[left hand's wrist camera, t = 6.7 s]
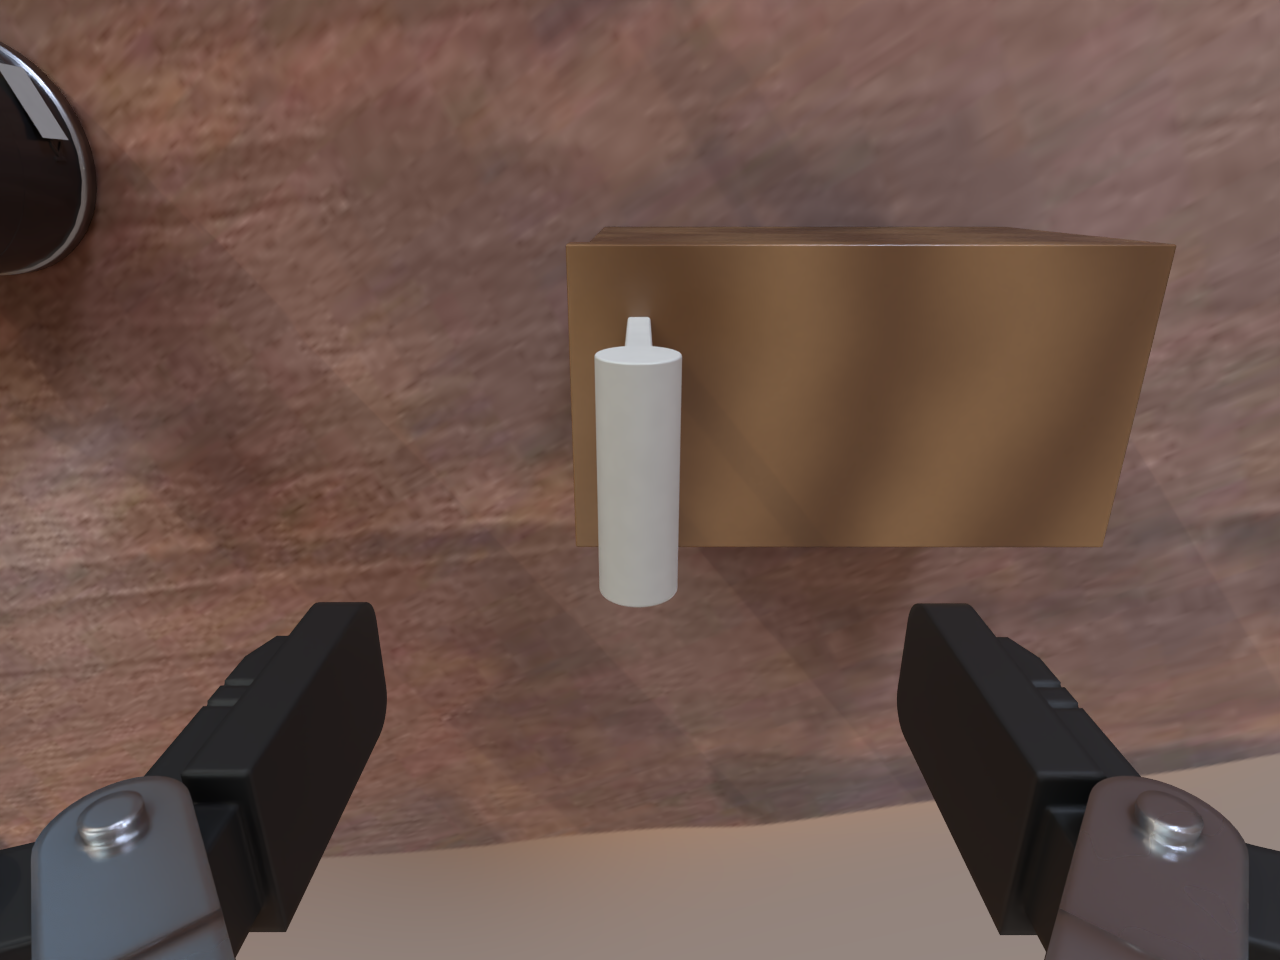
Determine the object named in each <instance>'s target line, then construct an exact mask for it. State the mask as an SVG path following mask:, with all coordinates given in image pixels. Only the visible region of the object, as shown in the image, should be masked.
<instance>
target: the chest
mask: <svg viewBox="0 0 1280 960" xmlns="http://www.w3.org/2000/svg"><path fill="white" fill-rule="evenodd" d="M590 242H1145V241H1135V240H1126V239H1116V238H1107V237H1097V236H1087V235H1078V234H1068V233H1058V232H1049V231H1039V230H1029V229H1020V228H1010V227H604V228H603V229H602V230H601V231H600V232H599V233H598V234H597V235H596V236H595V237H594V238H593V239H592V240H591V241H590Z"/></svg>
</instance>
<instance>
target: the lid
mask: <svg viewBox="0 0 1280 960" xmlns="http://www.w3.org/2000/svg"><path fill="white" fill-rule="evenodd" d="M1175 249H1176V245H1174V244H1166V243H1156V242H570V243H568V244H567V245H566V266H567V295H568V325H569V354H570V384H571V414H572V443H573V473H574V502H575V532H576V546H577V547H599V587H600V592H601V593H602V595H603V596H604V597H605V598H606V599H607V600H609V601H611V602H613V603H615V604H618V605H622V606H627V607H650V606H655V605H659V604H662V603H664V602H666V601H668V600H670V599H671V598H672V597H673V596H674V595H675V593H676V591H677V580H678V547H1102V546H1103V542H1104V538H1105V534H1106V530H1107V526H1108V522H1109V518H1110V514H1111V509H1112V505H1113V501H1114V497H1115V493H1116V489H1117V485H1118V481H1119V477H1120V473H1121V469H1122V465H1123V461H1124V457H1125V453H1126V448H1127V444H1128V440H1129V436H1130V432H1131V428H1132V424H1133V420H1134V416H1135V412H1136V408H1137V404H1138V400H1139V396H1140V392H1141V387H1142V383H1143V379H1144V375H1145V371H1146V367H1147V363H1148V359H1149V355H1150V351H1151V347H1152V343H1153V339H1154V335H1155V331H1156V326H1157V322H1158V318H1159V314H1160V310H1161V306H1162V302H1163V298H1164V294H1165V290H1166V286H1167V282H1168V278H1169V274H1170V270H1171V265H1172V261H1173V257H1174V253H1175Z"/></svg>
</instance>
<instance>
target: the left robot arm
mask: <svg viewBox="0 0 1280 960" xmlns="http://www.w3.org/2000/svg"><path fill="white" fill-rule="evenodd" d="M96 189H97V186H96V172H95V165H94V160H93V156H92V152H91V149H90V146H89V142H88V140H87V137H86V135H85V132H84V130H83V127H82V126H81V124H80V122H79V120H78V118H77V116H76V114H75V112H74V111H73V109H72V107H71V106H70V104H69V103H68V101H67V100H66V99H65V97H64V96H63V94H62V93H61V92H60V91H59V89H58V88H57V87H56V86H55V85H54V83H53V82H52V81H51V80H50V79H49V78H48V77H47V76H46V75H45V74H44V73H43V72H42V71H41V70H40V69H39V68H38V67H37V66H35V65H34V64H33V63H32V62H31V61H29V60H28V59H27V58H25V57H24V56H23V55H22V54H20V53H18V52H17V51H15V50H14V49H12V48H11V47H9V46H7V45H5V44H3V43H2V42H0V275H12V274H20V273H28V272H33V271H38V270H41V269H44V268H47V267H49V266H51V265H53V264H55V263H57V262H59V261H60V260H62V259H63V258H65V257H66V256H67V255H68V254H69V253H71V252H72V251H73V250H74V248H75V247H76V246H77V245H78V244H79V243H80V241H81V240H82V238H83V237H84V235H85V233H86V231H87V229H88V227H89V225H90V222H91V220H92V216H93V212H94V208H95V202H96ZM1060 683H1061V682H1060V681H1059V680H1058V679H1057V678H1056V677H1055V675H1054V674H1053V673H1052V672H1051V671H1050V670H1049V668H1048V667H1047V666H1046V665H1045V664H1044V663H1043V661H1042V660H1041V659H1040V658H1039V657H1037V656H1036V655H1034V654H1033V653H1031V652H1030V651H1028V650H1026V649H1025V648H1023V647H1022V646H1020V645H1019V644H1017V643H1016V642H1014V641H1013V640H1011V639H1009V638H1008V637H996V636H995V635H994V634H993V633H992V631H991V630H990V629H989V628H988V626H987V625H986V624H985V623H984V621H983V620H982V619H981V617H980V616H979V615H978V614H977V612H976V611H975V610H974V609H973V608H972V607H971V606H970V605H969V604H915V605H914V606H913V607H912V608H911V611H910V613H909V617H908V623H907V630H906V636H905V643H904V650H903V657H902V663H901V670H900V677H899V684H898V691H897V709H898V717H899V722H900V726H901V729H902V732H903V735H904V737H905V739H906V741H907V743H908V745H909V748H910V750H911V752H912V754H913V756H914V758H915V760H916V762H917V764H918V766H919V768H920V770H921V772H922V774H923V777H924V779H925V781H926V783H927V785H928V787H929V789H930V791H931V793H932V795H933V797H934V799H935V801H936V803H937V806H938V808H939V810H940V812H941V814H942V816H943V818H944V820H945V822H946V824H947V826H948V828H949V830H950V832H951V835H952V837H953V839H954V841H955V843H956V845H957V847H958V849H959V851H960V853H961V855H962V857H963V859H964V861H965V863H966V866H967V868H968V870H969V872H970V874H971V876H972V878H973V880H974V882H975V884H976V886H977V888H978V890H979V892H980V895H981V897H982V899H983V901H984V903H985V905H986V907H987V909H988V911H989V913H990V915H991V917H992V919H993V922H994V924H995V926H996V928H997V930H998V932H999V934H1000V935H1038V937H1039V939H1040V941H1041V943H1042V945H1043V947H1044V948H1045V951H1046V955H1045V959H1044V960H1280V851H1276V850H1272V849H1267V848H1263V847H1259V846H1254V845H1251V844H1247V843H1245V842H1244V839H1243V838H1242V836H1241V835H1240V833H1239V832H1238V831H1237V829H1236V828H1235V827H1234V826H1233V825H1232V824H1231V823H1230V822H1229V821H1228V820H1227V819H1226V818H1225V817H1224V816H1223V815H1222V814H1221V813H1219V812H1218V811H1217V810H1215V809H1214V808H1213V807H1211V806H1210V805H1209V804H1207V803H1205V802H1204V801H1202V800H1201V799H1199V798H1197V797H1196V796H1194V795H1192V794H1190V793H1188V792H1186V791H1184V790H1182V789H1179V788H1177V787H1174V786H1172V785H1169V784H1166V783H1163V782H1160V781H1157V780H1153V779H1148V778H1144V777H1141V776H1140V775H1139V774H1138V773H1137V772H1136V770H1135V769H1134V768H1133V767H1132V766H1131V765H1130V763H1129V762H1128V761H1127V760H1126V759H1125V758H1124V756H1123V755H1122V754H1121V753H1120V752H1119V750H1118V749H1117V748H1116V747H1115V746H1114V745H1113V743H1112V742H1111V741H1110V740H1109V739H1108V738H1107V736H1106V735H1105V734H1104V733H1103V732H1102V731H1101V729H1100V728H1099V727H1098V726H1097V725H1096V724H1095V722H1094V721H1093V720H1092V719H1091V718H1090V716H1089V715H1088V714H1087V713H1086V712H1085V711H1084V709H1083V708H1078V702H1077V701H1076V700H1075V699H1074V698H1073V697H1072V695H1071V694H1070V693H1069V692H1068V691H1067V690H1066V688H1065V687H1061V685H1060ZM386 705H387V691H386V683H385V676H384V669H383V662H382V656H381V649H380V642H379V635H378V628H377V621H376V616H375V612H374V609H373V607H372V605H371V604H370V603H368V602H318V603H315V604H314V605H313V606H312V607H311V608H310V609H309V611H308V612H307V613H306V614H305V616H304V617H303V618H302V619H301V621H300V622H299V623H298V625H297V626H296V627H295V628H294V630H293V631H292V632H291V633H290V635H289V636H276V637H274V638H273V639H271V640H270V641H268V642H267V643H265V644H264V645H262V646H261V647H259V648H258V649H256V650H254V651H253V652H251V653H250V654H248V655H247V656H245V657H244V659H243V660H242V661H241V662H240V663H239V664H238V666H237V667H236V668H235V669H234V670H233V672H232V673H231V674H230V675H229V676H228V677H227V679H226V680H225V684H224V686H220V687H219V688H218V689H217V690H216V692H215V693H214V694H213V695H212V696H211V698H210V699H209V700H208V704H207V706H203V707H202V708H201V709H200V711H199V712H198V713H197V714H196V715H195V717H194V718H193V719H192V720H191V721H190V722H189V724H188V725H187V726H186V727H185V728H184V730H183V731H182V732H181V733H180V734H179V735H178V737H177V738H176V739H175V740H174V741H173V743H172V744H171V745H170V746H169V747H168V748H167V750H166V751H165V752H164V753H163V754H162V756H161V757H160V758H159V759H158V760H157V762H156V763H155V764H154V765H153V766H152V767H151V769H150V770H149V771H148V772H147V773H146V775H145V776H144V777H136V778H131V779H127V780H123V781H120V782H117V783H114V784H111V785H108V786H106V787H103V788H101V789H98V790H96V791H94V792H92V793H90V794H88V795H86V796H84V797H83V798H81V799H79V800H78V801H76V802H75V803H73V804H71V805H70V806H69V807H67V808H66V809H65V810H63V811H62V812H61V813H59V814H58V815H57V816H56V817H55V818H54V819H53V820H52V821H50V823H49V824H48V825H47V826H46V827H45V828H44V829H43V831H42V832H41V833H40V835H39V836H38V838H37V839H36V842H33V843H29V844H25V845H20V846H16V847H12V848H7V849H3V850H0V960H236V959H235V958H236V956H237V954H238V952H239V950H240V948H241V946H242V944H243V942H244V940H245V939H246V937H247V935H248V933H249V932H286V931H287V928H288V926H289V924H290V922H291V920H292V918H293V916H294V914H295V912H296V910H297V907H298V905H299V903H300V901H301V899H302V897H303V895H304V893H305V891H306V889H307V886H308V884H309V882H310V880H311V878H312V876H313V874H314V872H315V870H316V868H317V866H318V863H319V861H320V859H321V857H322V855H323V853H324V851H325V849H326V847H327V845H328V842H329V840H330V838H331V836H332V834H333V832H334V830H335V828H336V826H337V824H338V822H339V819H340V817H341V815H342V813H343V811H344V809H345V807H346V805H347V803H348V801H349V798H350V796H351V794H352V792H353V790H354V788H355V786H356V784H357V782H358V780H359V777H360V775H361V773H362V771H363V769H364V767H365V765H366V763H367V761H368V759H369V757H370V754H371V752H372V750H373V748H374V746H375V744H376V742H377V740H378V738H379V736H380V733H381V731H382V728H383V724H384V720H385V714H386Z"/></svg>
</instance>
